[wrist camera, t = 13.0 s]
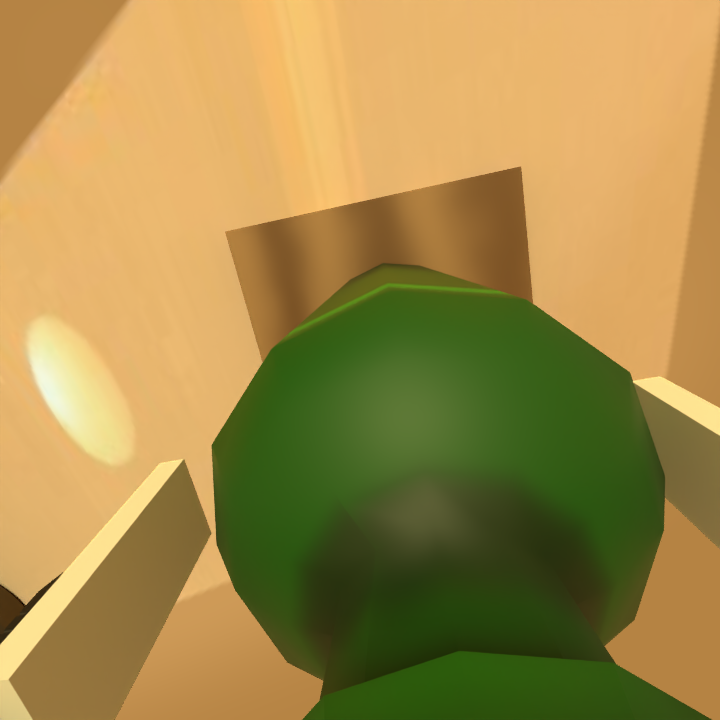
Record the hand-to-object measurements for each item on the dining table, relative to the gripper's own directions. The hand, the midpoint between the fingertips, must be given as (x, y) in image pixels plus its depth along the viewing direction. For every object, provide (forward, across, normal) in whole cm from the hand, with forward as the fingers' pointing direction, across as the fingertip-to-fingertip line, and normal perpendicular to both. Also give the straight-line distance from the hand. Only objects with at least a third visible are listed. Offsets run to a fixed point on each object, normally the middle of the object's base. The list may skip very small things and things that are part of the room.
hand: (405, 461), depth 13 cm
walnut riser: (+19, 0, 0) cm, 19 cm away
